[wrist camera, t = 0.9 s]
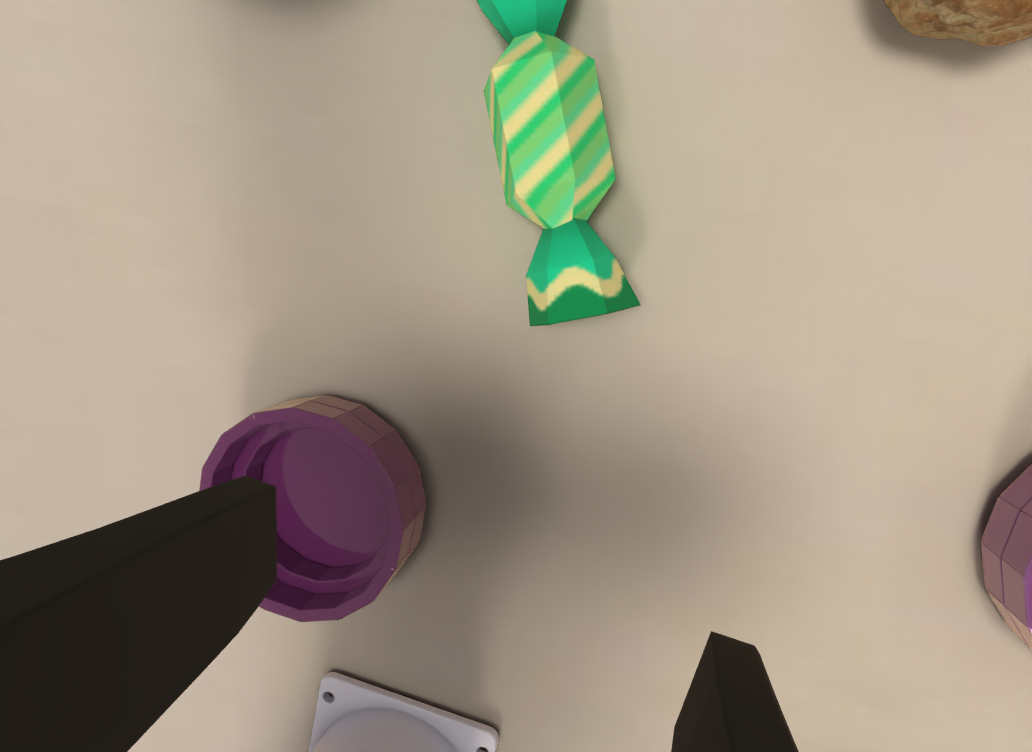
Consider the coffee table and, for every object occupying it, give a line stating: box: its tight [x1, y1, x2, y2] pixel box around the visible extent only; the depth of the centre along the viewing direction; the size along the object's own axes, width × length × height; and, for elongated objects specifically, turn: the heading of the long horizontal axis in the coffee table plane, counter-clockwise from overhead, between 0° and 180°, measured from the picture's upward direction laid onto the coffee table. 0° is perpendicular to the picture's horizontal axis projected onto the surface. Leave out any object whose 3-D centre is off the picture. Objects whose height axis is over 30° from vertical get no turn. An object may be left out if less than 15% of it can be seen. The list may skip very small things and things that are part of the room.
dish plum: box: [199, 395, 427, 622], centre depth 24 cm, size 8×8×3 cm
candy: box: [477, 0, 640, 326], centre depth 20 cm, size 12×3×4 cm
